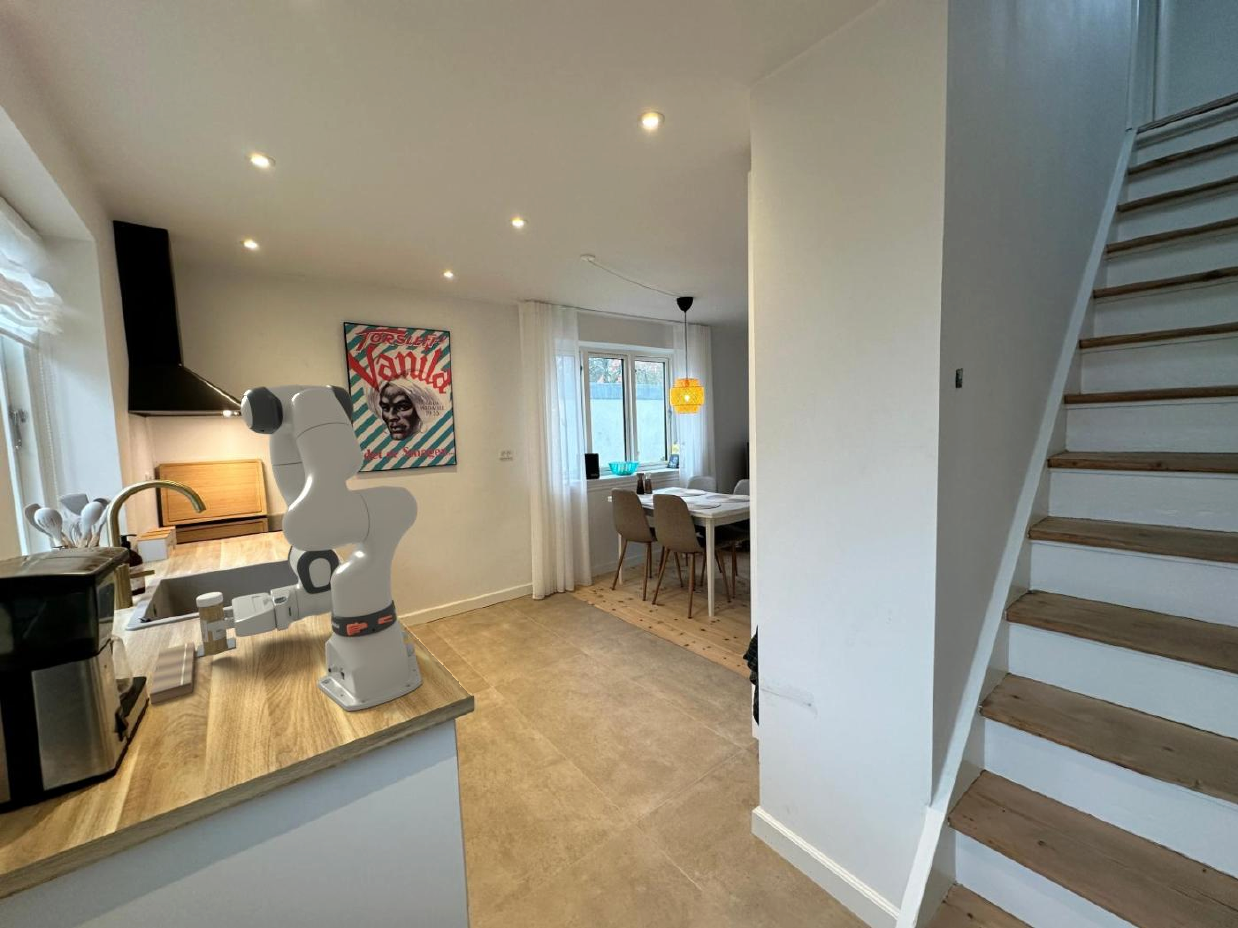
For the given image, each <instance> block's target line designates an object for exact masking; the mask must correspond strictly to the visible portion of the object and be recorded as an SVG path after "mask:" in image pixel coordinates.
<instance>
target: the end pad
mask: <svg viewBox="0 0 1238 928" xmlns="http://www.w3.org/2000/svg"><path fill="white" fill-rule="evenodd" d="M227 643H228V646H229V647H228V649H227V650H226V651H229V650H232V649H236V648H237V647H236V639H235V636H233V637H229V638H227ZM203 652H204V647H203V644H202V645H201V644H200V645H198V646H197V655H196V658H202V657H205V656H207V655H204V653H203Z"/></svg>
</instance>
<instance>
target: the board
mask: <svg viewBox="0 0 1238 928" xmlns="http://www.w3.org/2000/svg"><path fill="white" fill-rule="evenodd" d="M195 656H196V647H195V642H194V641H192V642H189V643H183V644H181V645H177V646H173V647H172V646H171V647H168V648H165V649H160V650H159V652H158V657H157V660H156V664H155V665H156V666H155V670H154V676H153V678H152V679H153V680H152V682H151V688H150V692H149V698H150V704H152V705H153V704H155V703H159V702H162V701H165V700H170V699H172V698H176V697H179V696H182V695H187V694H190V693H193V688H194V687H193V685H194V671H195V670H194V668H195Z"/></svg>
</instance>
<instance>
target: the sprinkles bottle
mask: <svg viewBox="0 0 1238 928" xmlns="http://www.w3.org/2000/svg"><path fill="white" fill-rule="evenodd" d="M195 601H196V607H197V609H198V616H199V627H200V628H199V629H200V634H201V641H202V645H203V647H204V652H203V653H204V655H206V656H216V655H219V654H221V653H224V652H226V651H228V650H227V649H228V647H229V646H228V643H227V639H228V638H227V637H228V636H227V635H228V634H227V629H220V630H214V631H208V628H207V623H208V622H210V621H214V620H217V621H219V620H225V619H226V618H225V617H224V612H223V610H224V606H223V601H224V597H223V593H222V592H220V591H213V592H208V593H207V592H206V593H204V594H201V595H199V596H197V597H196V600H195Z"/></svg>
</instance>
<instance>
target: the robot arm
mask: <svg viewBox="0 0 1238 928" xmlns="http://www.w3.org/2000/svg"><path fill="white" fill-rule="evenodd" d="M354 409H355V408H354V402H353V400H352V396H351V394H350V393H349V392H348V391H347V390H346V388H345V387H341V386H338V385H337V386H336V385H328V384H327V385H324V386H323V385H312V384H310V385H309V384H306V385H305V384H285V385H277V386H276V385H275V386H268V387H266V386H258V387H253V388H250V389H248V390H247V391H245V393H244V394H243V395H242V399H241V403H240V414H241V417H242V419H243V421H244V422H245V424H246V426H247V428H248V429H249V430H251V431H252V432H253V433H256V434H262V435H269V439H268V440H269V442H268V443H269V445H268V446H269V447H268V448H269V457H270V465H271V469H272V470H271V471H272V475H273V477H274V480H275V483H276V484H275V485H276V486H277V489H278V490H279V493H280V495H281V497H282V498H283V500H284V502H285V504H286V510H285V511H284V514H283V517H282V519H281V520H282V521H281V531H282V533H283V536H284V538H285V540H286V541H287V543H288V544H289V545H290V547H289V550H288V553H287V563H288V567H289V569H291V571H293V572H294V573H295V575H296V577H297V578H298V582H297V583H296V584H291V585H287V586H281V587H278V588H273V589H270V594H269V592H260V593H259V592H257V593H253V594H246V595H242V596H238V597H237V596H236V597H234V598H233V599H231V607H227V608H223V612H224V617H225V620H219V621H217V620H214V621H210V622H208V623H207V628H208V631H214V630H220V629H226V630H230V629H234V631H235V637H237V638H243V637H244V638H245V637H250V636H256V635H260V634H265V633H269V632H273V631H274V630H275V631H277V632H282V631H284V630H285V631H286V630H287V629H289V628H290V626H291V625H292V624H293V623H294V622H299V621H301V620H303V619H305V618H308V617H315V616H316V617H318V616H322V615H326V614H330V613H331V614H330V616H331V617H330V623H331V629H332V631H333V633H332V634H331V636H329V638H328V639H327V641H326V642H325V646H324V648H325V649H324V650H325V665H326V666H325V667H326V675H324V676H322V677H321V678H319V679H318V681H317V687H318V689H320V691H322V693H324V694H325V695H327V696H328V697H329V698H330V699H332V700H333V701H334V702H335V703H336V704H337V705H339V706H340V707H341V708H343V710H344V711H347V712H350V711H351V712H352V711H358V710H363V709H368V708H372V707H375V706H377V705H382V704H384V703H388V702H389V701H392V700H394V699H397V698H399V697H402V696H404V695H406V694H408V693H411V692H412V691H414V690H415V689H417V688H419V687H420V686H422V684H423V678H422V675H421V672H420V666H419V664H418V660H417V657H416V654H415V643H414V642H407V643H405V639H408V638H409V637H408V636H409V635H408V631H403V630H402V629H403V626H402V621H400V620H399V619H398V616H397V608H396V606H395V600H394V599H393V598H392V597H393V596H392V563H393V560H394V556H395V552H396V551H397V548H398V545H399V543H400V542H401V540H402V539H403V536H404V535H405V534H406V532H407V531H408V530H409V529H411V527H412V526H414V523H415V522H416V519H417V516H418V511H419V509H418V503H417V500H416V498H415V496H414V495H413V493H412V492H411V491H410V490H409V489H408V488H405V487H402V486H384V485H380V486H376V487H375V486H374V487H367V488H361V489H354V490H353V489H349V488H348V485H347V481H348V480H350V479H351V478H353V477H354V476H355V475H356V474H358V472H359V471H360V470H361V469H362V467H363V464H364V454H363V451H362V448H361V446H360V443H359V441H358V438H357V435H356V432H355V430H354V428H353V426H352V423H351V422H352V420H353V418H354V415H355V414H354V412H355V410H354ZM351 545H354V548H353V550H352V552H351V553H350V555H349V556H348V557H347V559H345V560H344V561H343V562H341V560H340V558H339V556H338V554H337V553H336V552H335V550H334V549H338V548H342V547H347V546H351Z"/></svg>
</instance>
